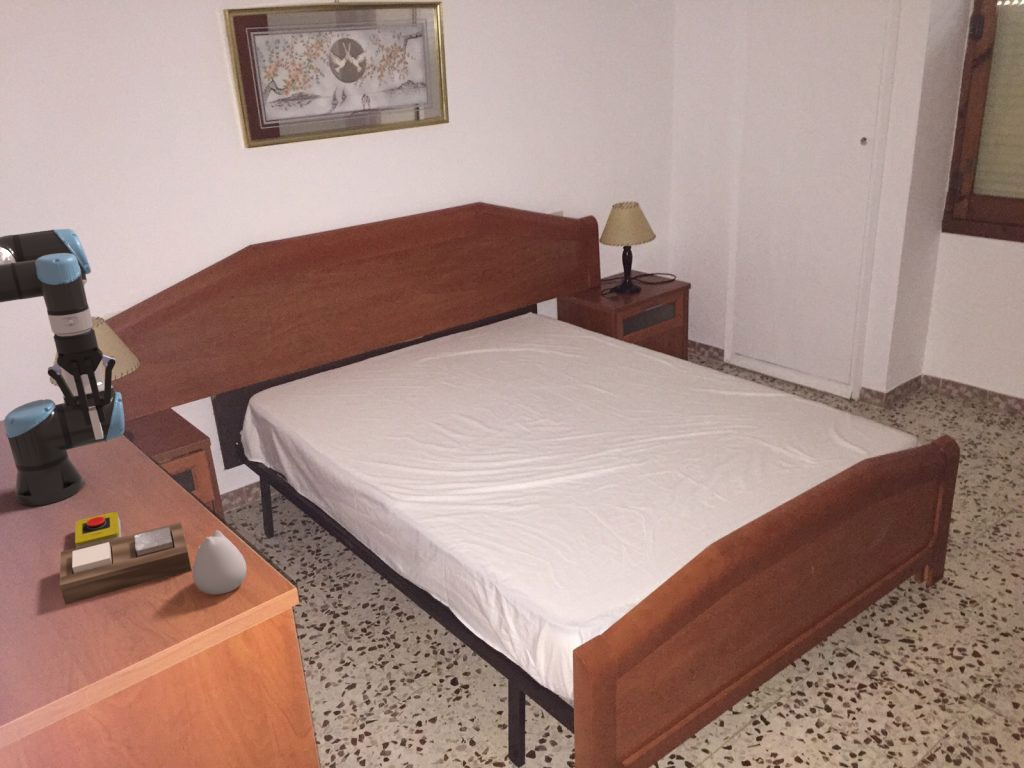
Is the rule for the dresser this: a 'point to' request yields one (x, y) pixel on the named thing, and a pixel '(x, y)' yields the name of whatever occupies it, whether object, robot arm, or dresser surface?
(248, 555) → the dresser surface
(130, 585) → the brown wooden flat block
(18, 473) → the robot arm
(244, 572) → the toy character
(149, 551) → the steel key
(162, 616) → the dresser surface
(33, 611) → the dresser surface
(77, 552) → the cream key
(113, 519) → the emergency button
